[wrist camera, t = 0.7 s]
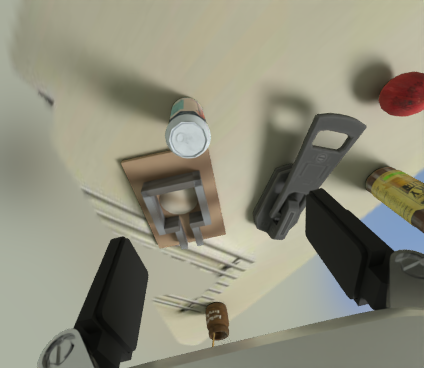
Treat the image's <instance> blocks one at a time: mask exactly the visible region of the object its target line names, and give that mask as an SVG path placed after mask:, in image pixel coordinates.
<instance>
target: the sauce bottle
mask: <svg viewBox="0 0 424 368" xmlns="http://www.w3.org/2000/svg"><path fill="white" fill-rule="evenodd" d="M366 189H367V191H369V192H370V193H371V194H373V196H374V197H376V198H377V199H378V200H380V201H381V202H382V203H384V204H385V205H386V206H388V207H389V208H390V209H392V210H393V211H394V212H395V213H397V214H398V215H399V216H401V217H402V218H404V219H405V220H406V221H407V222H409V223H410V224H411V225H413V226H414V227H416V228H418V229H419V230H420V231H422V232H423V233H424V183H423V182H421V181H419V180H417V179H415V178H413V177H411V176H409V175H408V174H406V173H404V172H402V171H400V170H396V169H394V168H391V167H384V168H380V169H378V170H376V171H374V172H373V173H372V174H371V175H370V176H369V177H368V179H367V180H366Z"/></svg>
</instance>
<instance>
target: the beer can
mask: <svg viewBox="0 0 424 368" xmlns="http://www.w3.org/2000/svg"><path fill="white" fill-rule="evenodd" d="M165 139H166V143H167V145H168V147H169V149H170V150H171V151H172V152H173V153H174V154H176V155H177V156H179V157H182V158H195V157H198V156H200V155H201V154H203V153H204V152H205V151H206V150H207V148H208V146H209V144H210V140H211V133H210V130H209V127H208V125H207V123H206V120H205V117H204V114H203V109H202V107H201V105H200V104H199V103H198V102H197V101H196V100H195V99H192V98H186V97H185V98H181V99H179V100H178V101H176V102H175V103H174V105H173V107H172V110H171V116H170V120H169V124H168V126H167V129H166V133H165Z"/></svg>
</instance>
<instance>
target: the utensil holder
mask: <svg viewBox="0 0 424 368" xmlns="http://www.w3.org/2000/svg"><path fill="white" fill-rule="evenodd" d="M206 323H207V328H208V330H209V337H210V339H212V340H213V343H212V347H214V340H223V339H225V338H227V337H228V336H229V329H228V326H229V320H228V313H227V308H226V306H225V305H224V304H223V303H219V302H217V303H212V304H210V305H208V306H207V308H206Z"/></svg>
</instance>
